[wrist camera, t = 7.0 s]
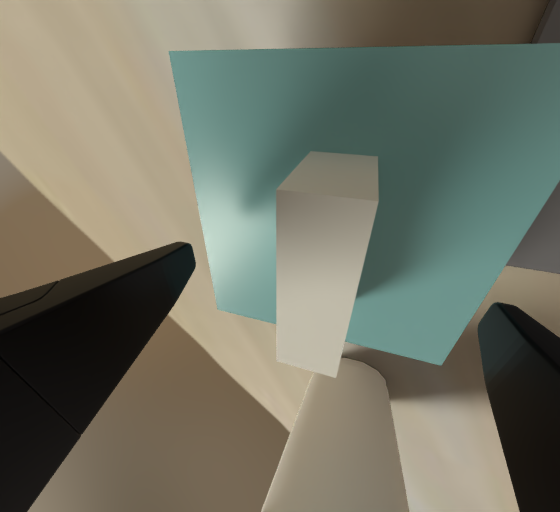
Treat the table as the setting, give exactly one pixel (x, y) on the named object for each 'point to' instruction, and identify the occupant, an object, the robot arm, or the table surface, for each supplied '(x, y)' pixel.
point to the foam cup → (341, 448)
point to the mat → (556, 211)
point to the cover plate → (424, 181)
